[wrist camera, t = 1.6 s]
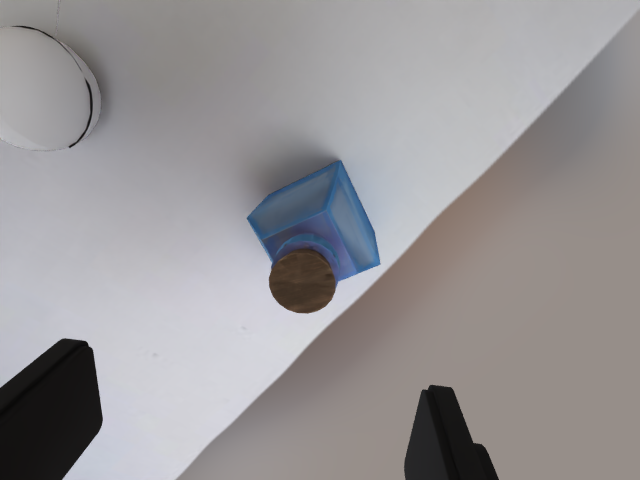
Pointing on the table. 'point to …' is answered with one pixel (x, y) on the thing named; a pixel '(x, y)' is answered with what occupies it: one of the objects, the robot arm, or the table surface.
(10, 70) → the white sphere
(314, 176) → the perfume bottle
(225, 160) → the table surface
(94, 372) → the robot arm
